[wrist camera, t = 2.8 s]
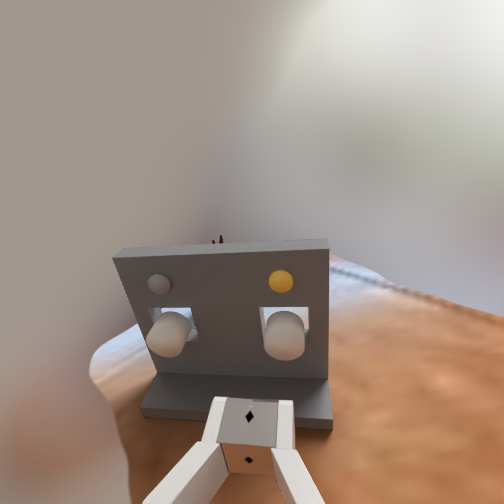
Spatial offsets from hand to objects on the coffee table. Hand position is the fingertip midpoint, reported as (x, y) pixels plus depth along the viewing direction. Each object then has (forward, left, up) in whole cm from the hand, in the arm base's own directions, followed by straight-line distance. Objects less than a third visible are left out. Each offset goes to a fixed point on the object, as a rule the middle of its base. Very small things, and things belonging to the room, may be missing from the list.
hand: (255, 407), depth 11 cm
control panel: (-11, -15, -24) cm, 30 cm away
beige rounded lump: (-15, -9, -15) cm, 23 cm away
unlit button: (-8, -21, -15) cm, 27 cm away
